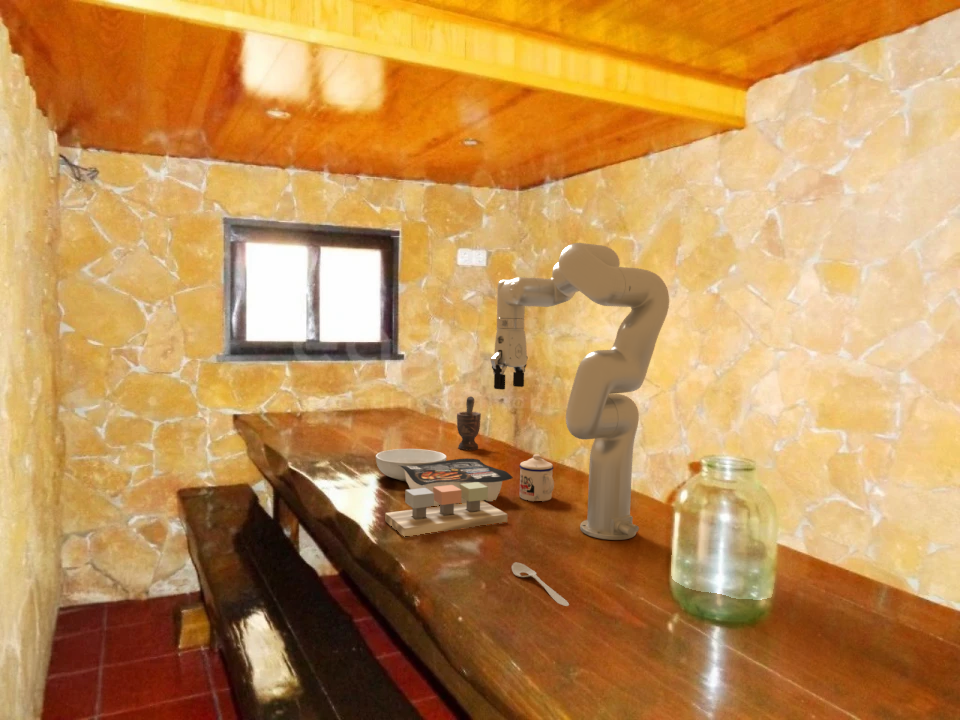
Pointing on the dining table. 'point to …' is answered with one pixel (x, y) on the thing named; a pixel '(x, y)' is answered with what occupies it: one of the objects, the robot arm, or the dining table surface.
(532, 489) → the teacup with lid
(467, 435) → the mortar and pestle
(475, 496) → the sage button
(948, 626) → the dining table surface
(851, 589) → the dining table surface
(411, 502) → the slate button
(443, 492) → the terracotta button
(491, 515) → the button board
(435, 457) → the serving bowl
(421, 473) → the food packaging
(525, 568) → the spoon
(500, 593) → the dining table surface
